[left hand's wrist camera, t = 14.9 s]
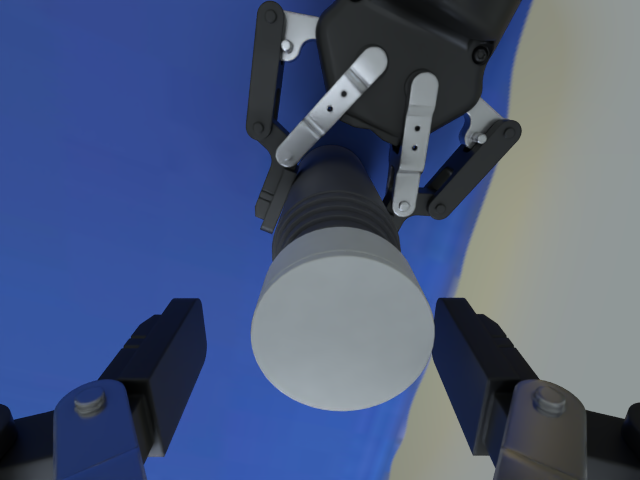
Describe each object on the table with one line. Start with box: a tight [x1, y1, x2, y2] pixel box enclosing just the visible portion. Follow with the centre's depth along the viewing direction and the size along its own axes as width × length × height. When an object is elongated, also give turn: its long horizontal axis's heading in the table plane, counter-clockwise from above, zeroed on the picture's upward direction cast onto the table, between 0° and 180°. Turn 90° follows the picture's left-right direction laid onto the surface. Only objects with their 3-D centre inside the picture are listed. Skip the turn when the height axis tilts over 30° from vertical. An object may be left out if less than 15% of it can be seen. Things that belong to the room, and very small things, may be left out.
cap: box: [251, 227, 435, 411], centre depth 10 cm, size 4×4×2 cm
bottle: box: [272, 145, 401, 261], centre depth 18 cm, size 5×5×18 cm
